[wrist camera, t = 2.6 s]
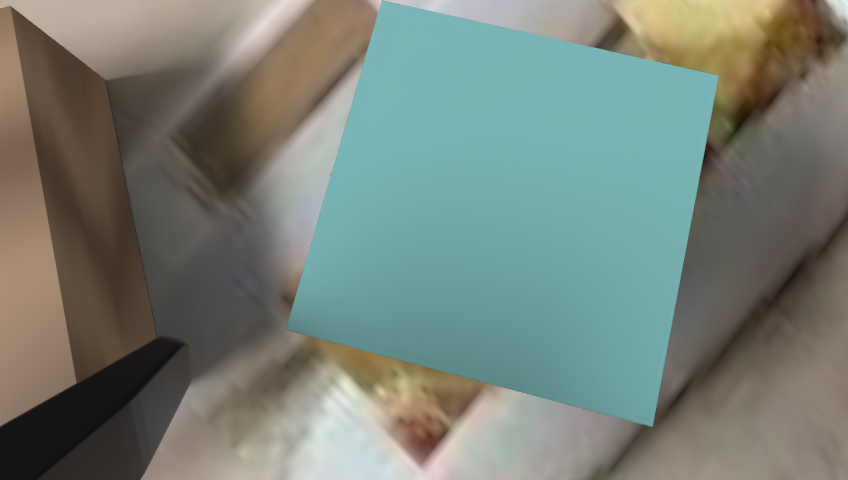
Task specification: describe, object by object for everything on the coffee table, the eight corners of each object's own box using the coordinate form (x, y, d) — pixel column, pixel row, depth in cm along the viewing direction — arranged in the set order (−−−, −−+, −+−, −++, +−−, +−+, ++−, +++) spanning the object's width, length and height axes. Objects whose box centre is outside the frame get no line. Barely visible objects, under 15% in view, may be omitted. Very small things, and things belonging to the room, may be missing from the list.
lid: (593, 402, 14) (652, 426, 10) (326, 332, 15) (285, 329, 11) (646, 144, 15) (718, 75, 11) (396, 85, 16) (381, 0, 12)
